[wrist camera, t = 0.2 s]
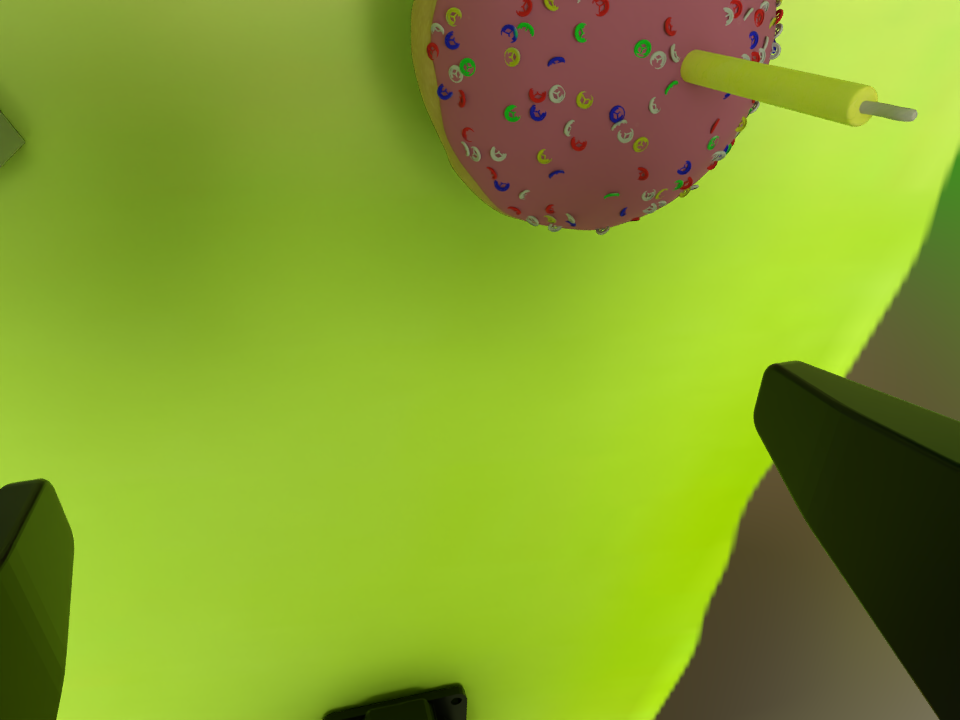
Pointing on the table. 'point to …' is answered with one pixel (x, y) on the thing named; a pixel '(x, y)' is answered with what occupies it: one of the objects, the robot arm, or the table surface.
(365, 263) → the table surface
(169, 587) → the table surface
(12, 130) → the dispenser sleeve
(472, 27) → the cupcake
